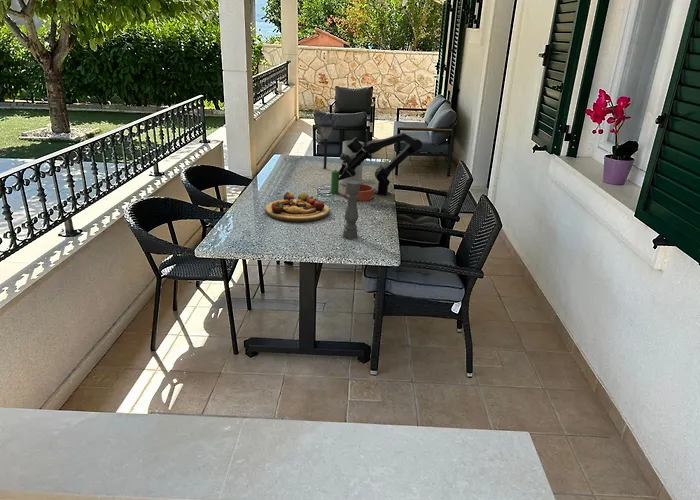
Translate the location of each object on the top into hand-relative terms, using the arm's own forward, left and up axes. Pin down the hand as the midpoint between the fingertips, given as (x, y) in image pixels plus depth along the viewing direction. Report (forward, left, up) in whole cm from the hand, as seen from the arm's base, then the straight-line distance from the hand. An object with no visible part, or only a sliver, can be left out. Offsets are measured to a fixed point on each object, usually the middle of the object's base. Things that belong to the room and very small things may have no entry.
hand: (337, 177), depth 285 cm
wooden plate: (+42, +3, -9) cm, 43 cm away
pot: (-1, +14, -9) cm, 17 cm away
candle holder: (+54, +41, -9) cm, 68 cm away
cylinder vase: (-21, -3, -9) cm, 23 cm away
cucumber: (+1, -1, -9) cm, 9 cm away
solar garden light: (-42, -36, -9) cm, 56 cm away
